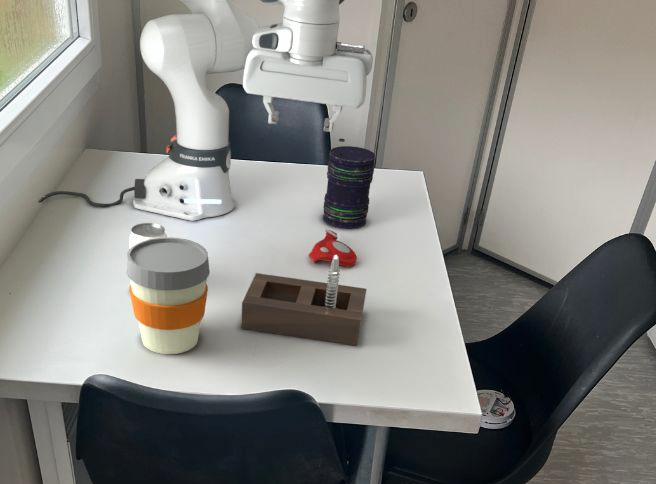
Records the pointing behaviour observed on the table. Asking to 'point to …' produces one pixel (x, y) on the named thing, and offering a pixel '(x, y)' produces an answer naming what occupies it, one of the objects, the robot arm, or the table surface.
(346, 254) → the tracker holder
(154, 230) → the can
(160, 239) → the reusable coffee cup
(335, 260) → the screw
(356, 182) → the dark blue cylinder
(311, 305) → the holder
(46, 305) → the table surface
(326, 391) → the table surface
